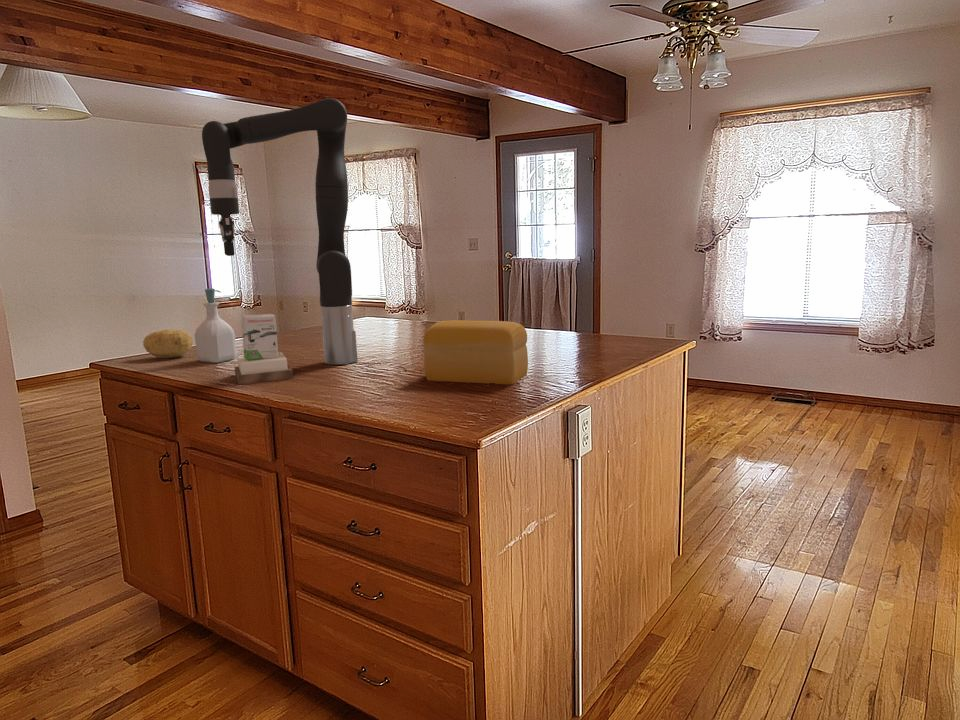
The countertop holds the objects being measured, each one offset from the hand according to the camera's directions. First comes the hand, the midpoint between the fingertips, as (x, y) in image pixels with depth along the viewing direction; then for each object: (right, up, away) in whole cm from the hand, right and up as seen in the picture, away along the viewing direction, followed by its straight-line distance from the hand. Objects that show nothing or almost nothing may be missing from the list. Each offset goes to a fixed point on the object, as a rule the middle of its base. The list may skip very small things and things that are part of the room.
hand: (229, 255), depth 196 cm
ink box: (+11, -29, -6) cm, 32 cm away
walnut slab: (+11, -35, -5) cm, 37 cm away
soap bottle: (-12, -30, +21) cm, 39 cm away
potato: (-30, -29, +30) cm, 52 cm away
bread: (+71, -35, -16) cm, 80 cm away
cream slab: (+11, -32, -6) cm, 35 cm away
